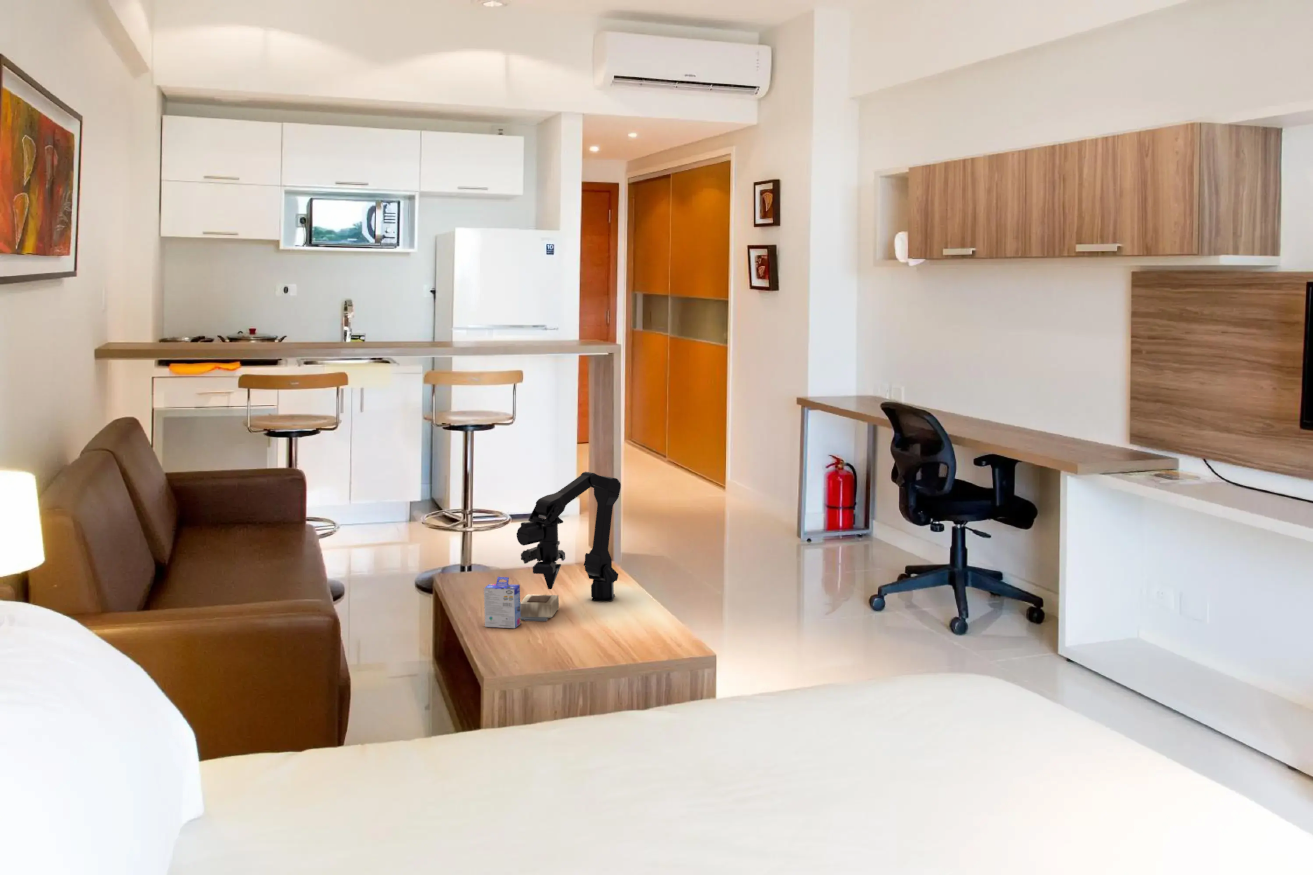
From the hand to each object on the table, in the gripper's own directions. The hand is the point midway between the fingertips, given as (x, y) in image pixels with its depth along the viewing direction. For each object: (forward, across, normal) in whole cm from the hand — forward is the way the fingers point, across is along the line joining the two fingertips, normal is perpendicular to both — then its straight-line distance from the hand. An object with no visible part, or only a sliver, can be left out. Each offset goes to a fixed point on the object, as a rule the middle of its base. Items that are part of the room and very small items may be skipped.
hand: (550, 588), depth 358 cm
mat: (+8, 0, -5) cm, 10 cm away
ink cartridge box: (+8, +12, -12) cm, 19 cm away
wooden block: (+6, 0, +1) cm, 6 cm away
